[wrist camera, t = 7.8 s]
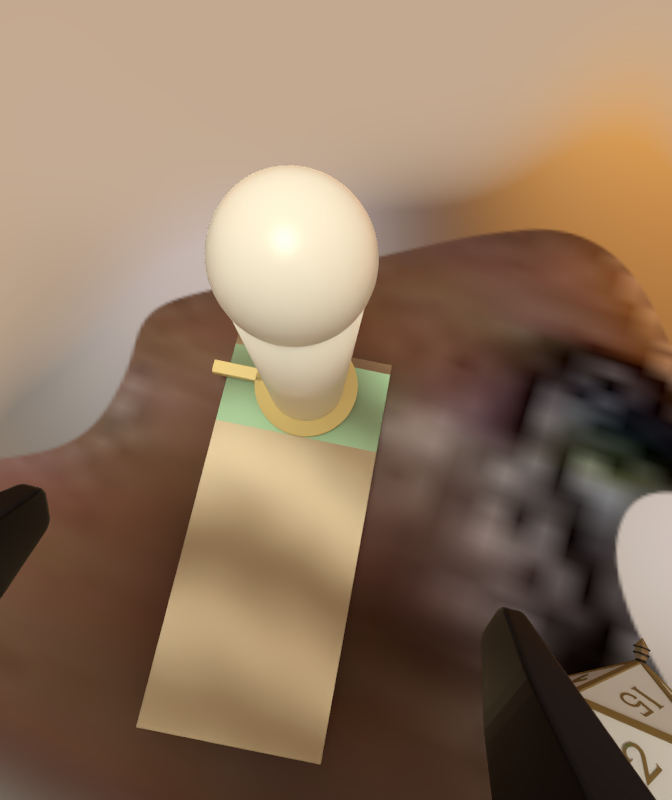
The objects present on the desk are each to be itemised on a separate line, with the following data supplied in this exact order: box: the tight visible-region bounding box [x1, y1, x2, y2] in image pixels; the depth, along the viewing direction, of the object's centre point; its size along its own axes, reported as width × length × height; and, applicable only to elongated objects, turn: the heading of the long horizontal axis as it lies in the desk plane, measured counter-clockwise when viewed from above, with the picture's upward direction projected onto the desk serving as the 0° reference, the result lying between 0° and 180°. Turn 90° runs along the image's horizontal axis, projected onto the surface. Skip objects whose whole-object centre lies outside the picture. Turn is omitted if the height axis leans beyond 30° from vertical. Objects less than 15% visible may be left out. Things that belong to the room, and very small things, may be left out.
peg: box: [205, 165, 379, 437], centre depth 15 cm, size 5×7×14 cm
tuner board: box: [136, 334, 392, 765], centre depth 21 cm, size 18×8×1 cm, turn 169°
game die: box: [568, 638, 672, 800], centre depth 16 cm, size 9×8×10 cm
